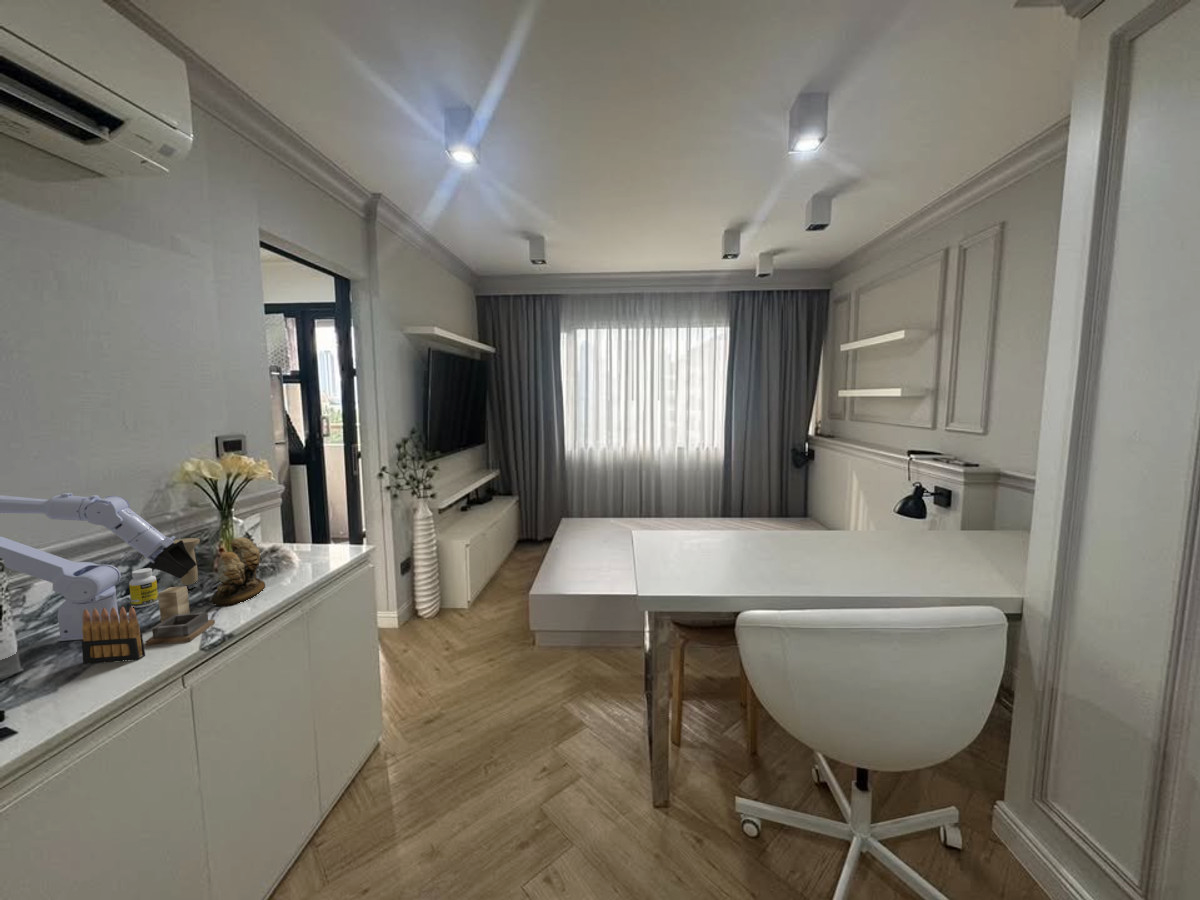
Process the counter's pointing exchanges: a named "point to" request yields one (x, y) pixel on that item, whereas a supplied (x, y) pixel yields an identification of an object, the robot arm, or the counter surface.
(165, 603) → the square peg
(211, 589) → the counter surface
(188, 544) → the handle
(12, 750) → the counter surface
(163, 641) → the socket
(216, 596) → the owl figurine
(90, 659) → the ammunition clip
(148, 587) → the supplement bottle
